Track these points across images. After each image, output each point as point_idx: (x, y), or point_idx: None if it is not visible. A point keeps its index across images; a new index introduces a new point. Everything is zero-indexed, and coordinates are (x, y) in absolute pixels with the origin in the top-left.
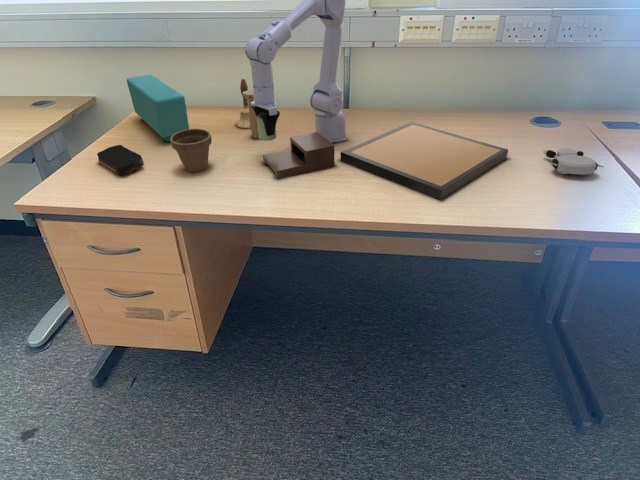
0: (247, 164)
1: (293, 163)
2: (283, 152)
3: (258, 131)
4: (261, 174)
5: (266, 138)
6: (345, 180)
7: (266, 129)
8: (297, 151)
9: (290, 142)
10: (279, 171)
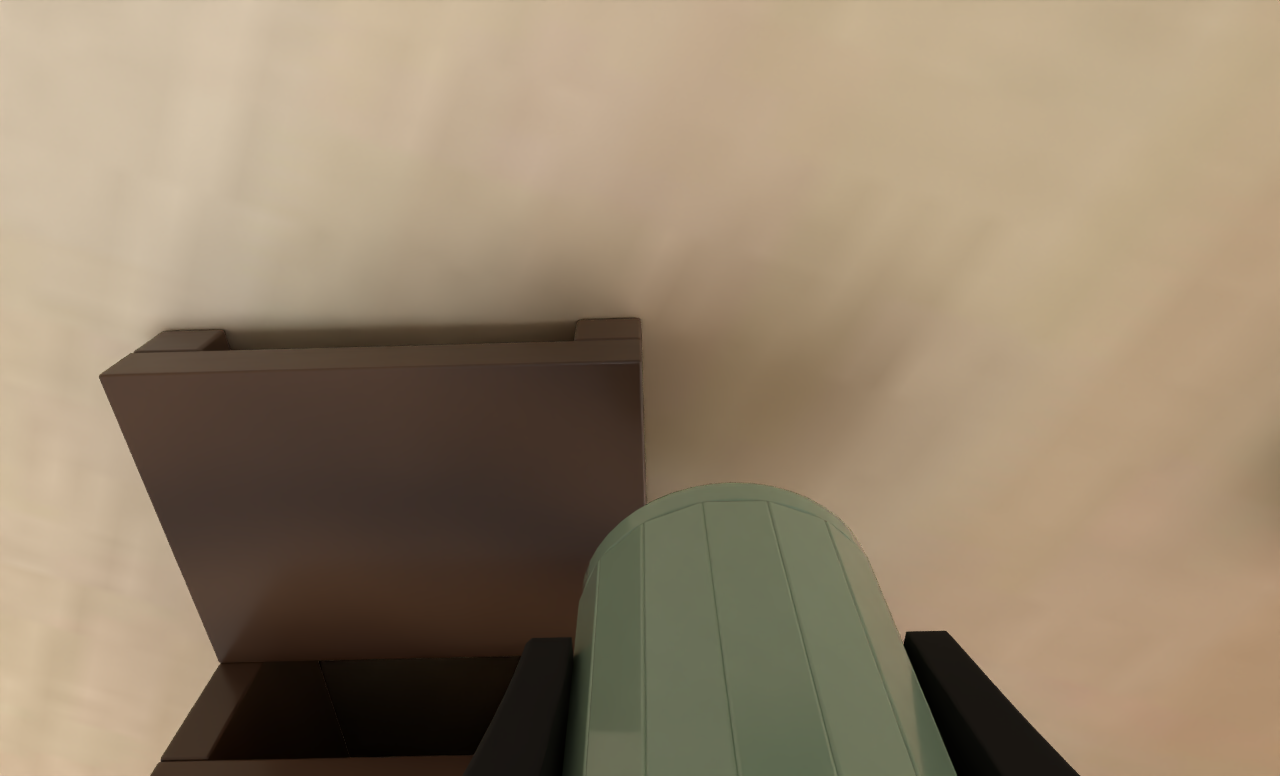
0: (698, 118)
1: (281, 580)
2: None
3: (775, 574)
4: (332, 200)
5: (589, 581)
6: (58, 764)
7: (478, 755)
8: None
9: None
10: (119, 398)
